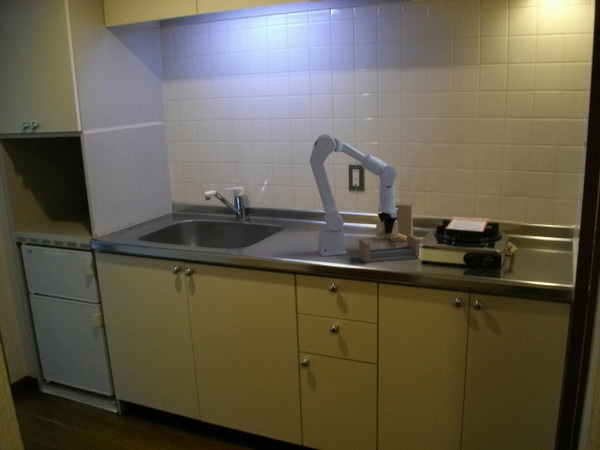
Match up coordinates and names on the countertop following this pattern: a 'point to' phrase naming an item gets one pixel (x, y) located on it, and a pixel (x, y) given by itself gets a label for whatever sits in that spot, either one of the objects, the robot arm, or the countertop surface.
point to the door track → (389, 251)
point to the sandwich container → (404, 221)
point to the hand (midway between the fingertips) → (387, 232)
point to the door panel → (381, 230)
